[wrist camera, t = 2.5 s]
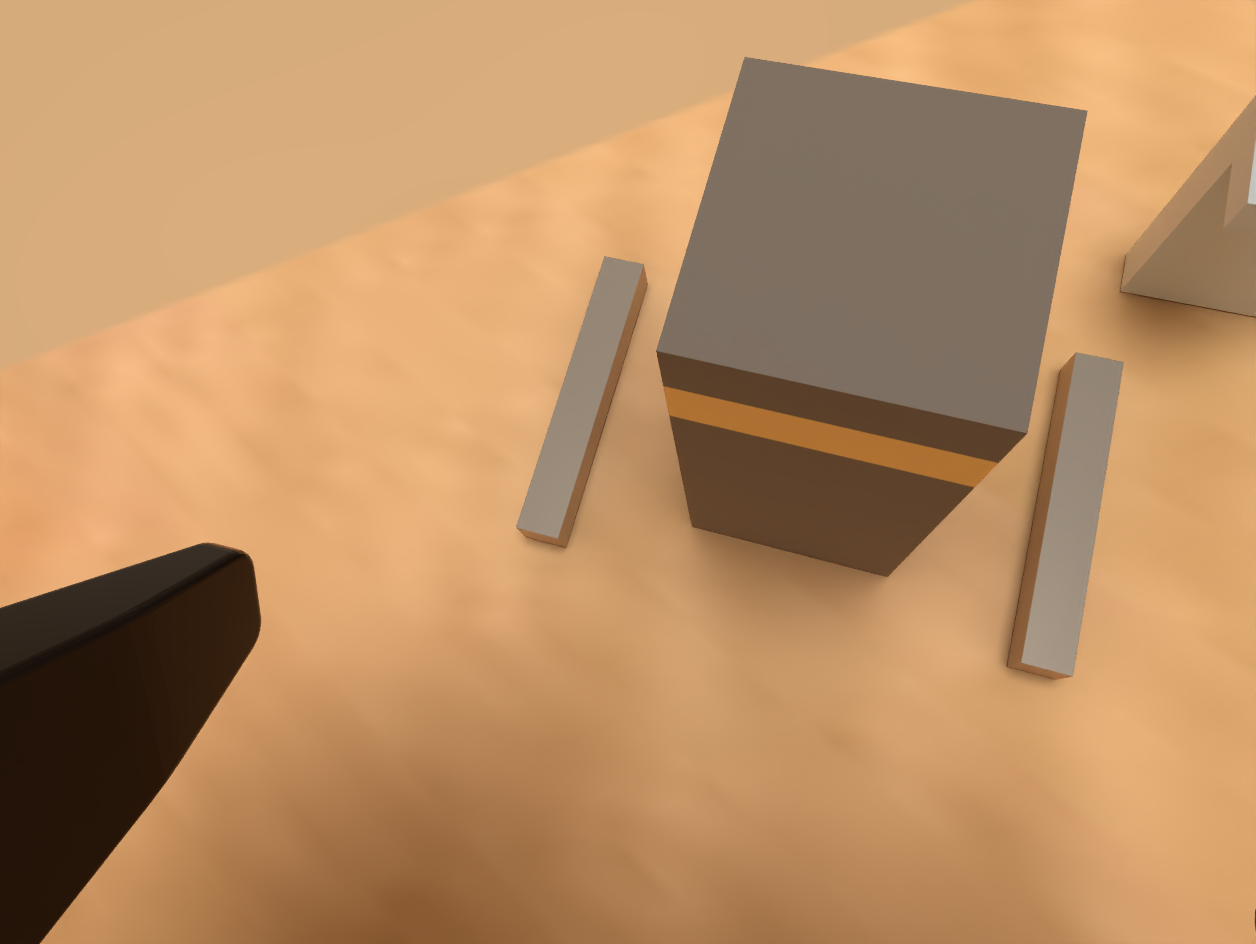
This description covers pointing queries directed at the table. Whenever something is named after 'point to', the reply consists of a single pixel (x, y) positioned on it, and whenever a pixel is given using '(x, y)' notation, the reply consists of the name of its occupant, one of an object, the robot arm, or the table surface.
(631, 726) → the table surface
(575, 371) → the rails
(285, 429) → the table surface
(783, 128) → the grey tall block
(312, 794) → the table surface
